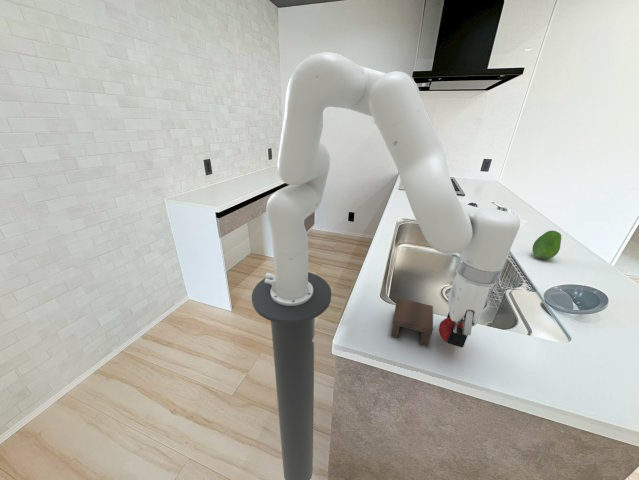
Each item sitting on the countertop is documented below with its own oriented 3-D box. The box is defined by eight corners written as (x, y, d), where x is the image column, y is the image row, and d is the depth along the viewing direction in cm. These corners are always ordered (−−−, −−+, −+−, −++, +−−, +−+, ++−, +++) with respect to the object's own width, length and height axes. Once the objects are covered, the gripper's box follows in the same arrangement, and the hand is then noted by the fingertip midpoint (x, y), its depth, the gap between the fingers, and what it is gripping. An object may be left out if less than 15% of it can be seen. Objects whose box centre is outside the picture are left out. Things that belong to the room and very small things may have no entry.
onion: (460, 356, 59) (471, 330, 55) (434, 345, 61) (442, 320, 57) (461, 338, 63) (471, 313, 60) (436, 329, 66) (445, 305, 62)
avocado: (558, 264, 98) (572, 235, 93) (535, 262, 99) (547, 233, 94) (546, 254, 105) (558, 227, 100) (524, 252, 106) (535, 225, 101)
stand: (390, 336, 65) (393, 319, 62) (394, 313, 72) (397, 297, 70) (428, 347, 62) (433, 330, 59) (428, 321, 69) (432, 305, 67)
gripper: (454, 247, 61) (435, 306, 69) (461, 288, 47) (437, 357, 55) (490, 254, 59) (466, 314, 67) (509, 299, 44) (477, 369, 52)
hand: (453, 333), depth 61 cm, fingers closed on onion, 5 cm apart
